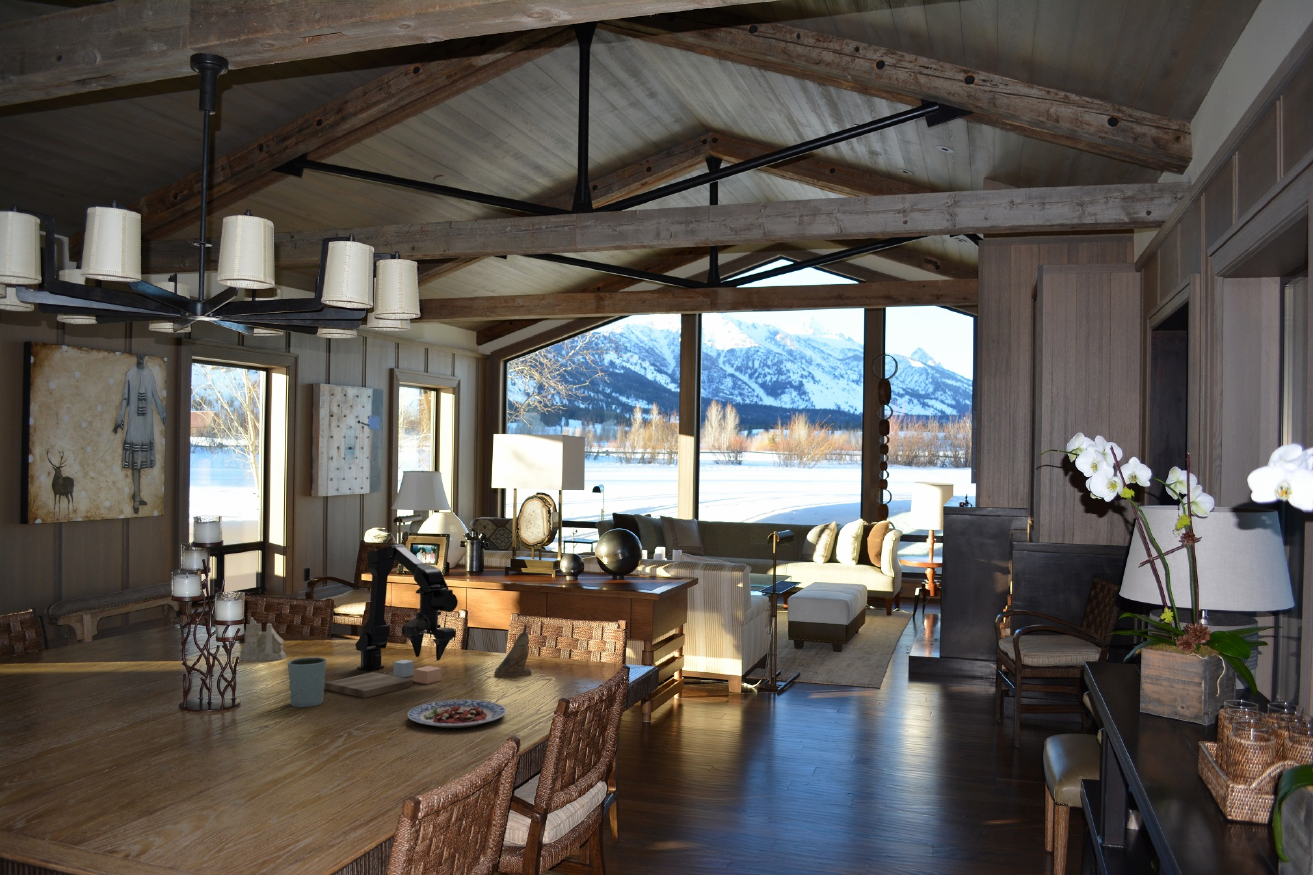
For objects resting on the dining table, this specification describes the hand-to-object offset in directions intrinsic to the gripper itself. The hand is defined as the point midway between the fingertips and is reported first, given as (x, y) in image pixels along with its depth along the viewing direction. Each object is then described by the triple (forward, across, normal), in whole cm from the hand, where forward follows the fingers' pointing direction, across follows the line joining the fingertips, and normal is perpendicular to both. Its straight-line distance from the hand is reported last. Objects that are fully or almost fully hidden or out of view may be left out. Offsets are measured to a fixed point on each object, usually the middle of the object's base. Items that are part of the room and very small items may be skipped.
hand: (427, 658), depth 292 cm
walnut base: (+7, -7, -17) cm, 20 cm away
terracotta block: (+7, 0, 0) cm, 7 cm away
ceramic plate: (+7, +40, -27) cm, 49 cm away
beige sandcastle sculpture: (+8, -73, -8) cm, 73 cm away
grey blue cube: (+7, -12, +1) cm, 14 cm away
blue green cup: (+7, -6, -40) cm, 41 cm away
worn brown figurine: (+7, +16, +22) cm, 28 cm away
